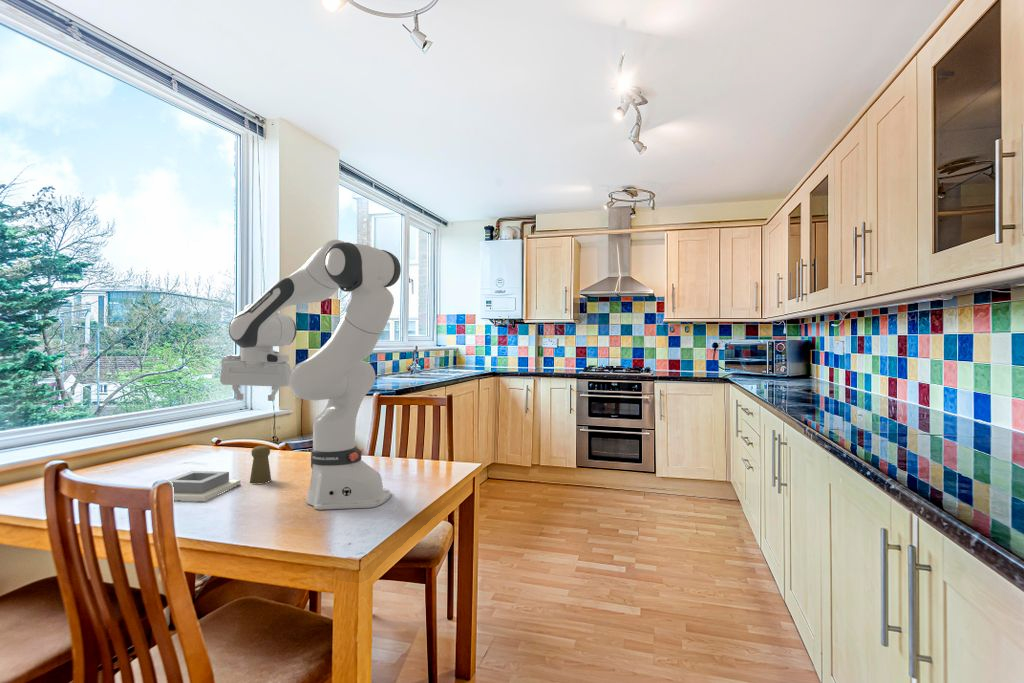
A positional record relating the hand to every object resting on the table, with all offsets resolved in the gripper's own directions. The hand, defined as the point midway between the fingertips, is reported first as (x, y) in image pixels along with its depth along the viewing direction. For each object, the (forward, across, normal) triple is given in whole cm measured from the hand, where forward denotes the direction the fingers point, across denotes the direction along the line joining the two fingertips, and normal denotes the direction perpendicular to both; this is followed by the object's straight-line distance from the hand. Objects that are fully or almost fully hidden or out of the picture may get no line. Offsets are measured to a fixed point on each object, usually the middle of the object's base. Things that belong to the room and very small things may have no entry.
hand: (255, 400), depth 151 cm
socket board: (+26, -12, -9) cm, 30 cm away
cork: (+26, +2, +1) cm, 26 cm away
